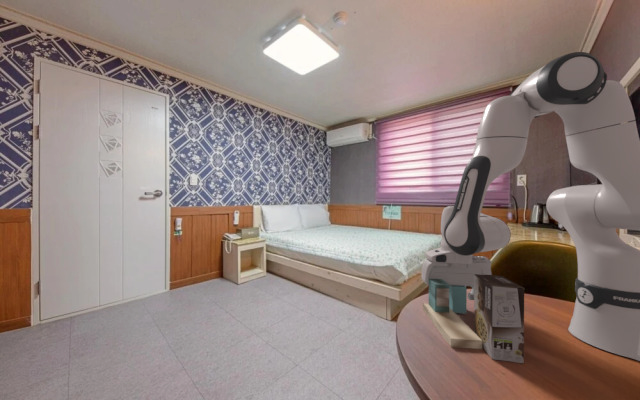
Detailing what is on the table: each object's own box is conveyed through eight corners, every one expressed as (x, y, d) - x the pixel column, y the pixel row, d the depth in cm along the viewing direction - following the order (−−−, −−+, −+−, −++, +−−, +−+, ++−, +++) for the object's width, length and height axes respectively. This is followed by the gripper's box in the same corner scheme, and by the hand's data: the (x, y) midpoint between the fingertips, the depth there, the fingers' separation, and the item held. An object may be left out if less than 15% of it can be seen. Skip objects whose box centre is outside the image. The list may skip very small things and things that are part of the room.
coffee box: (525, 364, 50) (526, 288, 50) (491, 359, 51) (492, 285, 51) (501, 339, 59) (502, 274, 59) (473, 336, 60) (473, 272, 60)
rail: (446, 310, 73) (446, 278, 74) (482, 349, 55) (482, 306, 55) (423, 309, 74) (423, 278, 74) (450, 347, 55) (451, 304, 55)
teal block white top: (457, 305, 78) (457, 281, 78) (466, 313, 72) (466, 287, 72) (444, 304, 78) (445, 280, 78) (452, 312, 72) (452, 286, 72)
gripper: (484, 254, 77) (484, 296, 77) (420, 252, 79) (419, 293, 79) (497, 258, 70) (497, 304, 70) (426, 256, 72) (426, 301, 72)
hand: (455, 298), depth 75 cm, fingers open, 8 cm apart
